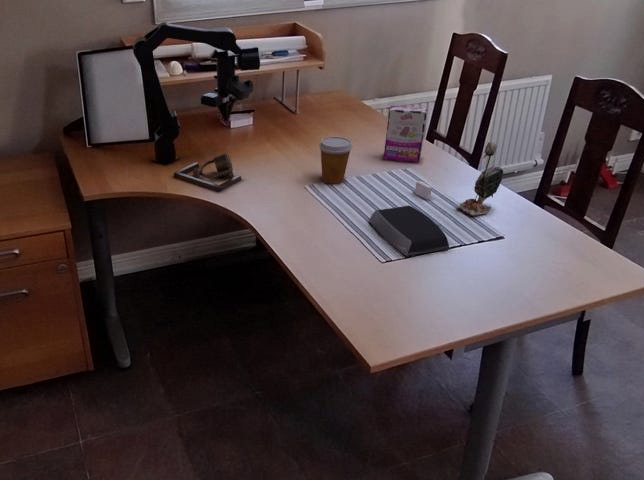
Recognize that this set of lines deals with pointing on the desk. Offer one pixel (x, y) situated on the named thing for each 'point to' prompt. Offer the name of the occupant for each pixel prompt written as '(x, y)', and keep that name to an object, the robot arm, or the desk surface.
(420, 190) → the eraser
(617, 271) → the desk surface
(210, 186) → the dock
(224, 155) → the mechanical counter
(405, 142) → the candy bar box
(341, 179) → the disposable coffee cup
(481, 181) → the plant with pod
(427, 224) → the hard drive
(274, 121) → the desk surface
